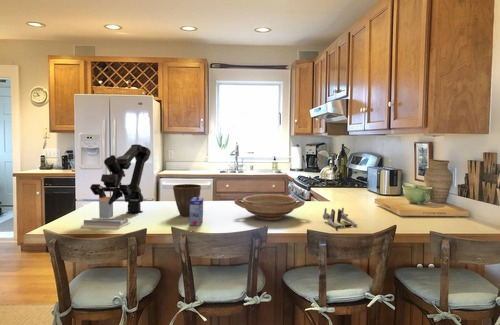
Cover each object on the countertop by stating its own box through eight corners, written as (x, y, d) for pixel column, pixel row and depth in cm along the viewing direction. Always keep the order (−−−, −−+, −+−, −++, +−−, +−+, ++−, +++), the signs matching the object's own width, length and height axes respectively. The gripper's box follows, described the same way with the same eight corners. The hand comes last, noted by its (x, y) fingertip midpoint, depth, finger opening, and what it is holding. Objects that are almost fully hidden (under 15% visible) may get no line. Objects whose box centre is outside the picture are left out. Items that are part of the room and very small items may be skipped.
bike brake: (319, 219, 184) (336, 235, 165) (320, 206, 183) (338, 221, 164) (344, 218, 187) (363, 234, 168) (345, 206, 186) (365, 220, 167)
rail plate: (94, 222, 181) (93, 216, 181) (130, 223, 178) (130, 217, 178) (80, 227, 170) (80, 221, 170) (119, 228, 167) (119, 222, 167)
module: (104, 216, 177) (104, 196, 176) (113, 216, 176) (112, 196, 175) (99, 218, 172) (98, 198, 172) (108, 218, 172) (107, 198, 171)
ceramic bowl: (231, 223, 180) (231, 202, 179) (237, 211, 208) (237, 193, 207) (306, 224, 177) (307, 203, 177) (302, 212, 206) (302, 194, 205)
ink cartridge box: (200, 226, 173) (200, 195, 172) (189, 226, 173) (188, 195, 172) (203, 221, 183) (203, 192, 182) (192, 221, 183) (192, 192, 182)
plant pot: (206, 215, 198) (206, 185, 197) (184, 219, 187) (184, 188, 186) (189, 211, 208) (189, 183, 207) (167, 215, 197) (167, 185, 196)
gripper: (91, 167, 178) (78, 193, 168) (127, 168, 175) (117, 194, 165) (100, 181, 186) (88, 207, 176) (135, 182, 184) (125, 208, 174)
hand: (104, 204), depth 172 cm, fingers closed on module, 4 cm apart
